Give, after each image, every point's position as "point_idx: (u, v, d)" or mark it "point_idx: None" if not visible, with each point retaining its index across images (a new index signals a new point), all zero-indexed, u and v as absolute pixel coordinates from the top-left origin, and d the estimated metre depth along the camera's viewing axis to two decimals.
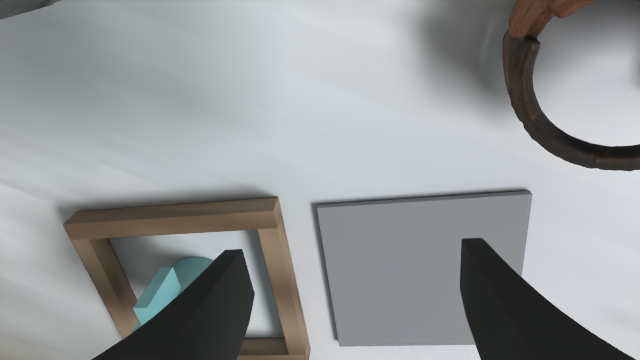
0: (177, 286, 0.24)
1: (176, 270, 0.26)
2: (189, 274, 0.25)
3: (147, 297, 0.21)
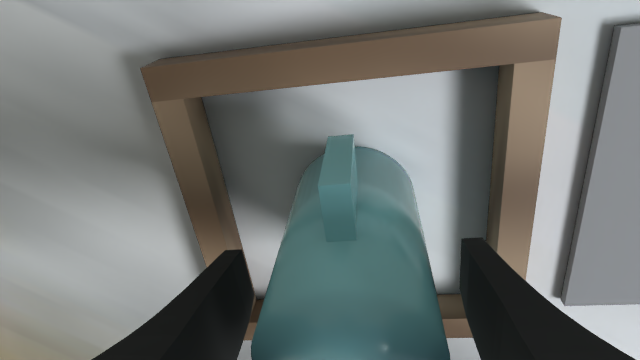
0: (356, 174, 0.13)
1: None
2: (358, 166, 0.14)
3: (336, 170, 0.10)
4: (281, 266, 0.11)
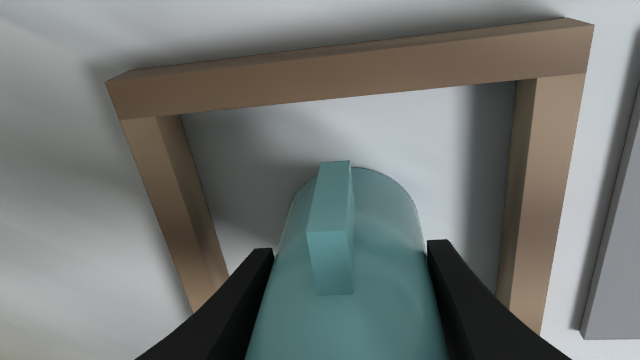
0: (354, 206, 0.11)
1: None
2: (356, 192, 0.13)
3: (328, 211, 0.09)
4: (264, 322, 0.09)
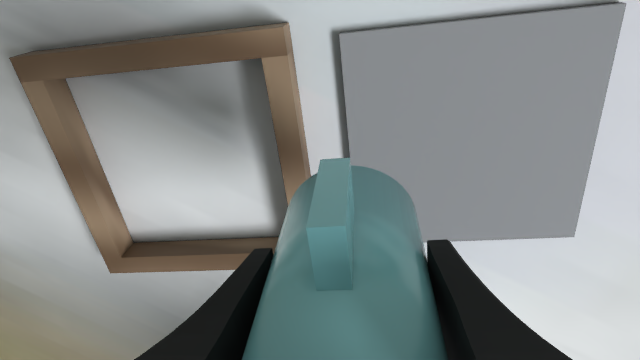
0: (353, 203, 0.11)
1: None
2: (355, 190, 0.13)
3: (328, 206, 0.09)
4: (263, 317, 0.09)
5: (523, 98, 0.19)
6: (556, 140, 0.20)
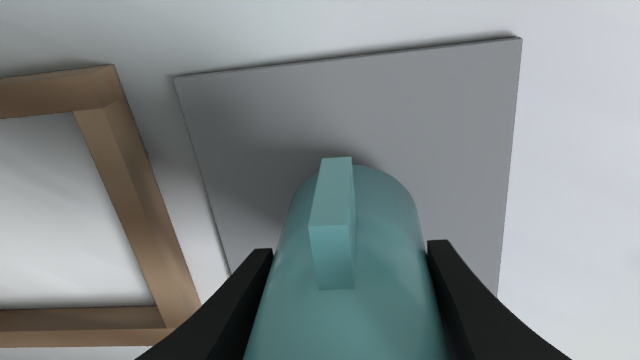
0: (355, 202, 0.11)
1: None
2: (356, 189, 0.13)
3: (330, 205, 0.09)
4: (264, 316, 0.09)
5: (410, 154, 0.15)
6: (458, 202, 0.16)
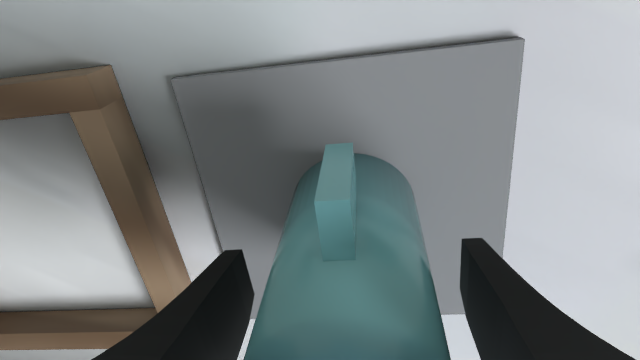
0: (356, 185, 0.12)
1: None
2: (357, 175, 0.14)
3: (334, 184, 0.10)
4: (274, 286, 0.10)
5: (411, 155, 0.15)
6: (459, 204, 0.16)
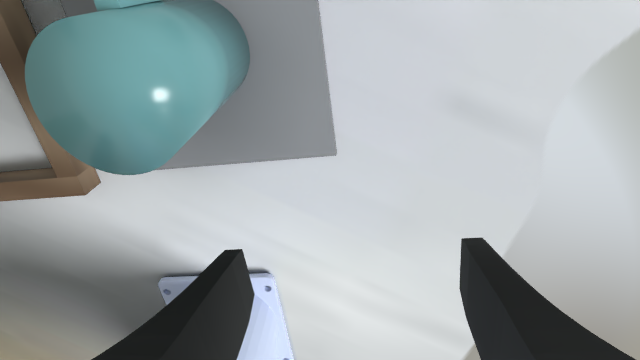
0: None
1: None
2: None
3: None
4: None
5: None
6: (283, 43, 0.19)
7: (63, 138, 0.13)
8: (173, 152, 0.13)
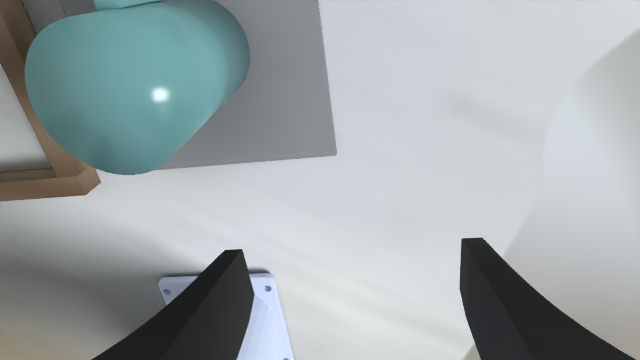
0: None
1: None
2: None
3: None
4: None
5: None
6: (283, 43, 0.19)
7: (63, 138, 0.13)
8: (173, 152, 0.13)
